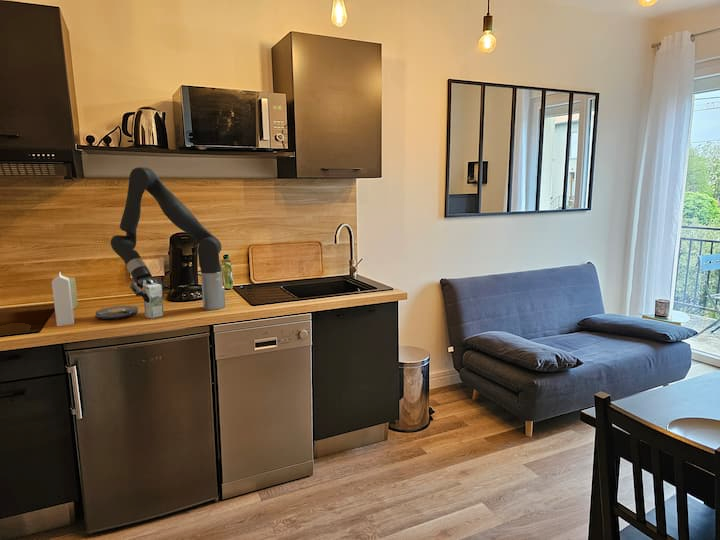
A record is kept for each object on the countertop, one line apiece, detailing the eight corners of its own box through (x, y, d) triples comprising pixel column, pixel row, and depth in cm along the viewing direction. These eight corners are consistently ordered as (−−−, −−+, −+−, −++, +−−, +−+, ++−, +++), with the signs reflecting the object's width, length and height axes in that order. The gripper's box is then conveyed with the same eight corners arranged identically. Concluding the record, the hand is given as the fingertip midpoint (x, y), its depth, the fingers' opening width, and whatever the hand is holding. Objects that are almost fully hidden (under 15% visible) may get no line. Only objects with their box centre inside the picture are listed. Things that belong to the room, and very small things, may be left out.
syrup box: (157, 314, 219) (154, 282, 216) (164, 316, 215) (161, 284, 213) (145, 317, 214) (142, 284, 212) (151, 319, 211) (149, 286, 208)
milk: (57, 326, 202) (50, 274, 198) (58, 322, 207) (51, 272, 203) (73, 324, 204) (67, 272, 200) (74, 320, 210) (68, 270, 206)
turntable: (126, 307, 228) (126, 303, 228) (145, 312, 218) (145, 308, 218) (88, 314, 215) (88, 311, 215) (107, 321, 205) (106, 317, 205)
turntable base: (124, 311, 225) (124, 309, 225) (137, 315, 218) (137, 312, 218) (97, 316, 216) (97, 314, 215) (110, 321, 208) (110, 318, 208)
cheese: (76, 317, 216) (72, 284, 214) (50, 320, 212) (46, 286, 209) (78, 306, 236) (75, 276, 233) (55, 309, 231) (51, 278, 229)
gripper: (125, 267, 210) (142, 298, 205) (156, 263, 221) (173, 292, 216) (120, 278, 214) (137, 308, 209) (151, 273, 225) (167, 302, 220)
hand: (155, 300), depth 212 cm, fingers closed on syrup box, 5 cm apart
